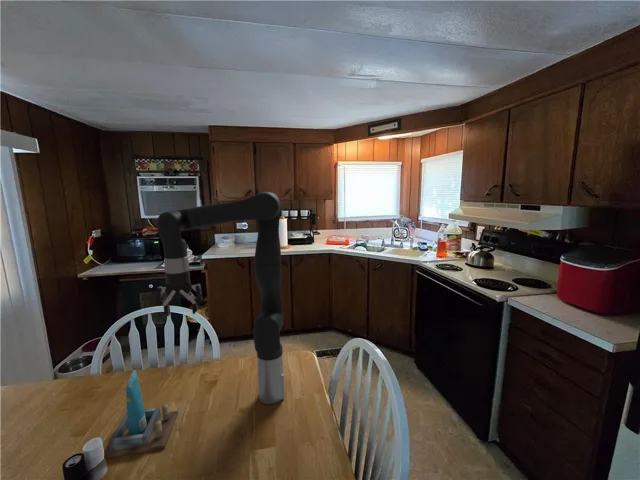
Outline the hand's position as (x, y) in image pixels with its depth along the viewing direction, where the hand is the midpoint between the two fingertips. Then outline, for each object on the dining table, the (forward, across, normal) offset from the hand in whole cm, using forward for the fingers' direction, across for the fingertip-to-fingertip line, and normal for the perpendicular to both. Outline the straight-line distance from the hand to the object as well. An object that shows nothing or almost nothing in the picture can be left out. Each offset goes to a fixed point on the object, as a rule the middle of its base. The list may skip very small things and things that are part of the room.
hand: (181, 314), depth 102 cm
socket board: (+33, +10, +14) cm, 37 cm away
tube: (+32, +12, +14) cm, 37 cm away
